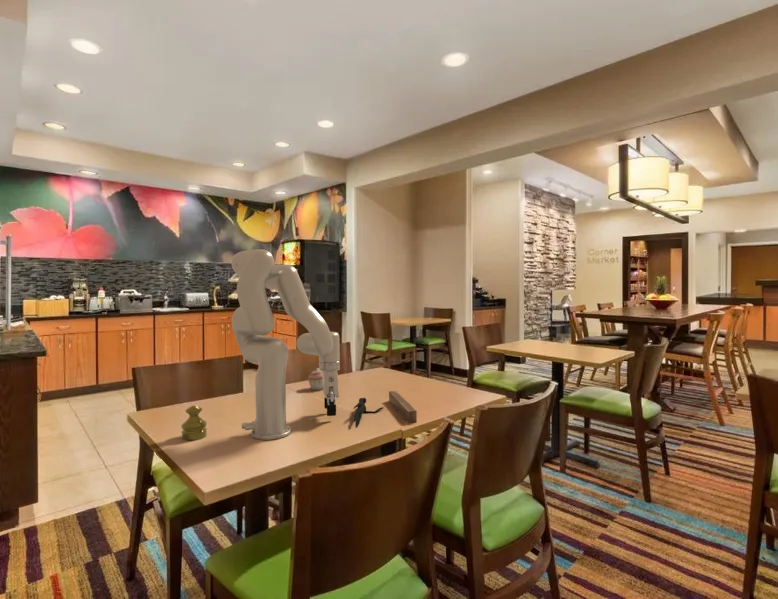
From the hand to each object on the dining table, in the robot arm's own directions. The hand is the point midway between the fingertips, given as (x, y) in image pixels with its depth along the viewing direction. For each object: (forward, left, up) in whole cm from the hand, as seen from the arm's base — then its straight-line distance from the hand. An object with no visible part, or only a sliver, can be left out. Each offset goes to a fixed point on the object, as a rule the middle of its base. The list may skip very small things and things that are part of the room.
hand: (330, 411), depth 163 cm
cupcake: (-2, +45, -2) cm, 45 cm away
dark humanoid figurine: (+14, -4, -2) cm, 14 cm away
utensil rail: (+27, +1, -2) cm, 28 cm away
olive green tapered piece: (-45, -11, -2) cm, 46 cm away
